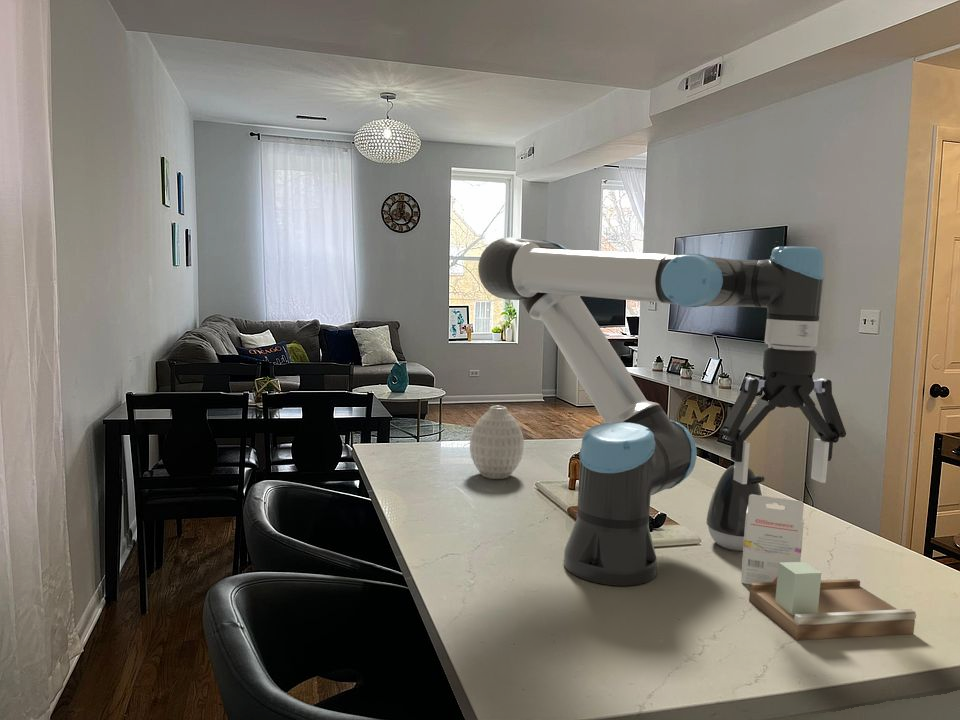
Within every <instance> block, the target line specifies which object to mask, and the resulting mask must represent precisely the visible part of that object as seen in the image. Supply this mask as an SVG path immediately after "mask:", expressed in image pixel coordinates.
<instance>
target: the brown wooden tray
mask: <svg viewBox="0 0 960 720" xmlns="http://www.w3.org/2000/svg"><path fill="white" fill-rule="evenodd" d="M749 586H750V587H749V598H748V601H749V602H750V603H751V604H752V605H753V606H755V608H757V609H758V610H760V611H761V612H762V613H763V614H765V615H766V616H767V617H768V618H769V619H770V620H772V621H773V622H774V623H776V624H777V625H778V626H779V627H780V628H782V629H783V630H784V631H785V632H786V633H787V634H789V635H790V636H791V637H792V638H794V640H796V641H797V640H798V641H804V640H817V639H818V640H819V639H820V640H822V639H839V638H840V639H841V638H843V639H844V638H856V637H875V636H876V637H877V636H880V637H881V636H893V635H896V636H897V635H899V636H900V635H914V633H915V625H916V624H915V623H916V619H917V613H916V611H915V610H914V609H912V608H903V609H902V608H901V609H898V608H896V607H895V606H893V605H892V604H890V603H888V602H886V601H885V600H884V599H881V598H880V597H878V596H876V595H875V594H873V593H872V592H870V591H868V590H867V589H865V588H864V587H862V586H861V580H859V579H858V578H852V579H851V578H850V579H849V578H848V579H823V580H822V579H821V583H820V594H819V604H818V613H812V614H795V615H791V614H789V613H788V612H787V611H785V610H784V609H783V608H782V607H780V606H779V605H778V604H776V603H775V598H776V587H777V582H764V583H750V585H749Z"/></svg>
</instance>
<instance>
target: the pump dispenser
mask: <svg viewBox="0 0 960 720" xmlns="http://www.w3.org/2000/svg"><path fill="white" fill-rule="evenodd" d="M733 477H734V464H732V465H731V466H729V467H728V468H726V469H725V471H724V472H723V473H722V474H721V476H720V477H719V480H718V481H717V483H716V486H715V488H714V490H713V492H712V495H711V499H710V502H709V506H708V509H707V514H706V515H707V516H706V521H705V522H706V526H708V527H707V528H708V531H709V532H708V533H709V535H710V536H711V538H712V540H713V541H714V542H715V543H716V544H717V545H719V546H720V547H722V548H725V549H726V550H729V551H737V552H738V551H742V552H743V546H744V533H745V520H746V511H747V507H748V502H749V495H751V494H754V495H760V496H763V494H762V493H763V492H762V489H761V485H760V483H763V482H765V479H766V478H765V476H763V475H756V474H755V472H754V471H753V470H752V468H750V467H749V466H748V475H747V484H741V483H739V482H737V481H735V480H733Z"/></svg>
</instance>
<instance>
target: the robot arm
mask: <svg viewBox="0 0 960 720" xmlns="http://www.w3.org/2000/svg"><path fill="white" fill-rule="evenodd" d="M824 258H825V255H824V252H823V251H822V250H821V249H820V248H818V247H814V246H797V245H796V246H793V245H792V246H777V247H774V248H772V251H771V255H770V257H769V258H768V259H758V260H757V259H733V258H732V259H731V258H723V257H716V256H715V257H713V256H707V255H704V254H698V253H686V254H667V253H647V252H646V253H645V252H627V251H626V252H621V251H599V250H577V249H576V250H574V249H568V248H567V247H565V246H563V244H560V243H556V242H554V241H551V240H543V239H541V240H534V239H526V238H520V237H519V238H517V237H503V238H499V239H497V240H495V241H493V242H491V243H490V244H488V246H486V247H485V249H484V250H483V251H482V253H481V255H480V257H479V261H478V265H477V267H478V269H477V271H478V272H477V273H478V277H479V280H480V282H481V284H482V286H483V288H484V289H485V290H486V291H487V292H488V293H490V294H491V295H492V296H494V297H497V298H498V299H501V300H502V299H503V300H507V301H508V300H511V301H512V300H513V301H520V302H521V303H522V305H523V307H524V309H525V310H526V311H527V313H528V316H529V317H530V318H531V319H532V320H535V321H537V320H538V321H541V322H542V323H543V325H544V326H545V328H546V329H547V331H548V333H549V334H550V336H551V337H552V339H553V341H554V342H555V344H556V345H557V347H558V349H559V351H560V352H561V353H562V355H563V357H564V359H565V360H566V361H567V363H568V365H569V367H570V368H571V370H572V372H573V373H574V375H575V376H576V378H577V380H578V381H579V383H580V385H581V386H582V387H583V390H584V391H585V393H586V394H587V397H588V398H589V399H590V400H591V403H592V404H593V405H594V407H595V409H596V410H597V412H598V414H599V416H600V417H601V419H602V420H603V422H604V423H600V424H596V425H594V426H591V427H590V428H589V429H587V430H586V431H585V432H584V434H583V435H582V439H581V447H580V448H579V455H578V456H579V473H578V477H579V478H578V495H577V512H576V514H577V515H576V521H575V523H574V525H573V528H572V530H571V533H570V536H569V538H568V540H567V542H566V546H565V548H564V551H563V552H564V554H563V566H564V568H565V569H566V570H567V571H569V572H570V573H571V574H573V575H574V576H576V577H578V578H579V579H580V578H581V579H582V580H585V581H588V582H591V583H596V584H600V585H602V584H603V585H607V586H623V587H624V586H636V585H642V584H646V583H648V582H650V581H652V580H653V579H654V578H655V577H656V575H657V569H658V567H657V566H658V559H657V554H656V550H655V546H654V543H653V539H652V534H651V531H650V528H649V527H650V526H649V525H650V524H649V523H650V522H649V521H650V510H651V498H652V497H651V496H653V495H656V494H658V493H660V492H663V491H664V490H670V489H673V488H674V487H677V485H680V483H682V482H683V481H685V480H686V479H687V478H688V477H689V476H690V475H691V474H692V472H693V470H694V468H695V466H696V463H697V462H696V461H697V456H698V455H697V453H698V452H697V451H698V450H697V445H696V442H695V441H696V440H695V439H694V436H693V434H692V433H691V432H690V431H689V429H688V428H687V427H686V426H685V425H684V424H682V423H680V422H677V421H675V420H672V419H670V418H669V417H668V415H667V414H666V412H665V411H664V409H663V407H662V406H661V404H659V402H653V401H649V400H647V398H646V397H645V395H644V394H643V392H642V391H641V389H640V387H639V386H638V384H637V383H636V381H635V379H634V378H633V376H632V375H631V373H630V372H629V371H628V369H627V367H626V366H625V364H624V363H623V361H622V360H621V358H620V356H619V355H618V353H617V352H616V350H615V349H614V348H613V346H612V344H611V342H610V341H609V340H608V338H607V337H606V335H605V333H604V332H603V330H602V329H601V327H600V325H599V324H598V323H597V321H596V320H595V318H594V316H593V315H592V313H591V312H590V310H589V308H588V307H587V305H586V304H585V302H584V301H583V299H582V297H590V298H600V299H601V298H602V299H613V300H623V301H624V300H625V301H636V302H647V303H649V302H650V303H658V304H661V303H662V304H667V305H668V304H669V305H678V306H681V307H684V308H699V307H741V308H743V307H745V308H747V307H748V308H749V307H750V308H766V309H767V310H766V312H767V313H766V323H765V332H764V333H765V334H764V344H765V345H768V347H765V348H764V350H763V360H762V369H763V370H762V371H763V376H762V378H761V379H759V378H758V379H757V378H753V377H750V376H745V377H744V378H743V382H742V386H741V391H740V393H739V394H738V396H737V398H736V400H735V402H734V403H733V405H732V408H731V409H730V411H729V413H728V414H727V417H726V419H725V421H723V424H722V426H721V428H720V431H719V432H720V433H719V434H721V435H723V436H725V437H727V438H728V439H730V440H731V445H730V446H731V447H730V459H731V461H733V462H734V464H733V465H734V477H733V480H735V481H737V482H739V483H741V484H747V475H748V467H749V460H750V446H751V442H750V441H746V440H747V439H748V437H749V436H750V435H751V434H752V433H753V432H754V431H755V429H756V428H757V427H758V426H759V425H760V424H761V422H762V421H763V420H764V419H765V418H766V416H768V414H769V413H770V412H771V411H774V410H775V409H776V408H785V409H786V408H789V407H790V408H794V409H796V408H797V409H798V408H799V410H801V413H802V414H803V415H804V417H805V418H806V419H807V421H808V422H809V424H810V425H811V426H812V428H813V430H814V431H815V433H816V434H817V436H818V437H819V438H814V440H813V450H812V463H811V474H810V479H812V480H814V481H817V482H818V483H821V484H827V483H826V482H827V472H828V464H829V463H828V462H831V460H832V457H833V447H834V445H833V444H835V443H838V442H839V440H840V438H845V437H846V435H847V432H846V428H845V426H844V423H843V420H842V417H841V415H840V413H839V409H838V407H837V404H836V401H835V398H834V395H833V387H832V385H833V382H832V380H830V379H827V378H822V377H817V378H815V379H814V378H813V376H814V373H815V372H816V366H817V365H816V364H817V354H818V353H817V352H816V350H815V349H813V348H815V347H817V346H818V341H819V340H818V338H819V337H818V336H819V328H820V313H821V302H822V294H823V285H824V283H823V282H824V280H825V275H824ZM760 391H762V394H761V395H760V396H759V398H757V400H756V403H755V404H754V405H753V403H754V401H755V399H756V397H757V394H758V393H759V392H760ZM812 392H814V393H815V396H816V399H817V402H818V404H819V407H820V409H821V413H822V414H821V413H820V411H819V410H818V409H817V407H816V403H815V402H814V400H813V399H812V398H811V396H810V394H811V393H812ZM752 405H753V407H752ZM751 407H752V408H751ZM822 415H823V416H822Z"/></svg>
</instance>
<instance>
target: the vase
mask: <svg viewBox="0 0 960 720" xmlns="http://www.w3.org/2000/svg"><path fill="white" fill-rule="evenodd" d="M469 439H470V440H469V452H470V457H471V458H470V459H472V464H474V466H475V468H476V470H477V471H478V472H479V474H481V476H482V477H484V478H485V479H489V480H490V479H491V480H504V479H507V478H509V477H510V476H511V475H512V474H513V473H514V472H515V471H516V470H517V468H518V467H519V465H520V463H521V461H522V458H523V455H524V449H525V443H524V442H525V441H524V435H523V432H522V428H521V426H520V424H519V422H518V421H517V419H516V418H515V417H514V416H513V415H512V413H511V412H509V410H508V407H506V406H503V405H491V406H490V407H489V409H488V410H487V412H485V413H484V414H482V415H481V416H480V418H479V419H478V420H477V422H475V425H474V427H473V428H472V431H471V433H470V438H469Z"/></svg>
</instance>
